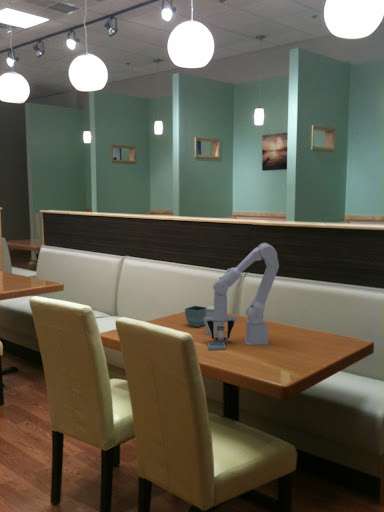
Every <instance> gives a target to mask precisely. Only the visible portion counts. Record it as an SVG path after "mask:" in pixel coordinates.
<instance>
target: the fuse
mask: <svg viewBox="0 0 384 512" xmlns="http://www.w3.org/2000/svg"><path fill="white" fill-rule="evenodd" d="M216 337H217V340H224V337H225V332H224V326H218V327H217V335H216Z"/></svg>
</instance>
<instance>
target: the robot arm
mask: <svg viewBox="0 0 384 512" xmlns="http://www.w3.org/2000/svg"><path fill="white" fill-rule="evenodd" d="M262 260H263V261H264V263H265V265H266V268H265V271H264V273H263V274H262V275H263V276H262V278H261V281H260V283H259V286H258V289H257V291H256V294H255V296H254V298H253V301H251V304H250V305H249V307H247V309H246V311H245V314H246V317H247V320H246V324H245V325H246V330H245V332H246V334H245V338H244V343H245V344H246V345H248V346H250V345H253V346H254V345H255V346H256V345H269V325H268V322H264V321H263V320H264V313H265V306H266V305H265V304H266V302H267V299H268V297H269V294H270V291H271V289H272V286H273V284H274V281H275V278H276V276H277V273H278V271H279V268H280V264H279V259H278V252H277V251H276V248H274V246H273V245H271V244H269V243H267V242H262V243H260V244H259V245H257V247H255V248H253V250H252V251H251V252H250V253H248V255H247V256H245V258H244V259H243V260H242V261H241V262H240V263H238V265H237V266H236V267H230V268H227V270H226V271H227V272H225V273H224V274H223V275H222V276H219V277H218V279H217V280H215V282H214V283H213V286H212V288H213V290H214V292H213V294H214V295H213V296H214V297H213V306H214V316H213V317H204V323H205V324H206V322H207V323H208V326H209V328H210V331H211V334H212V335H211V339H212V340H213V339H214V337H215V335H214V333H213V327H214V325H213V322H225V323H227V335H226V337H227V339H230V336H231V333H232V331H233V330H232V329H233V327H234V326H235V323H237V322H238V316H231V315H228V295H227V293H228V291H229V288H230V287H232V286H233V285H235V283H236V282H237V281H238V280H239V279H240V278H241V274H242V273H243V272H244V271H245V270H246V269H247V268H248V267H250V266H251V265H252V264H254V262H257V261H262Z"/></svg>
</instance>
